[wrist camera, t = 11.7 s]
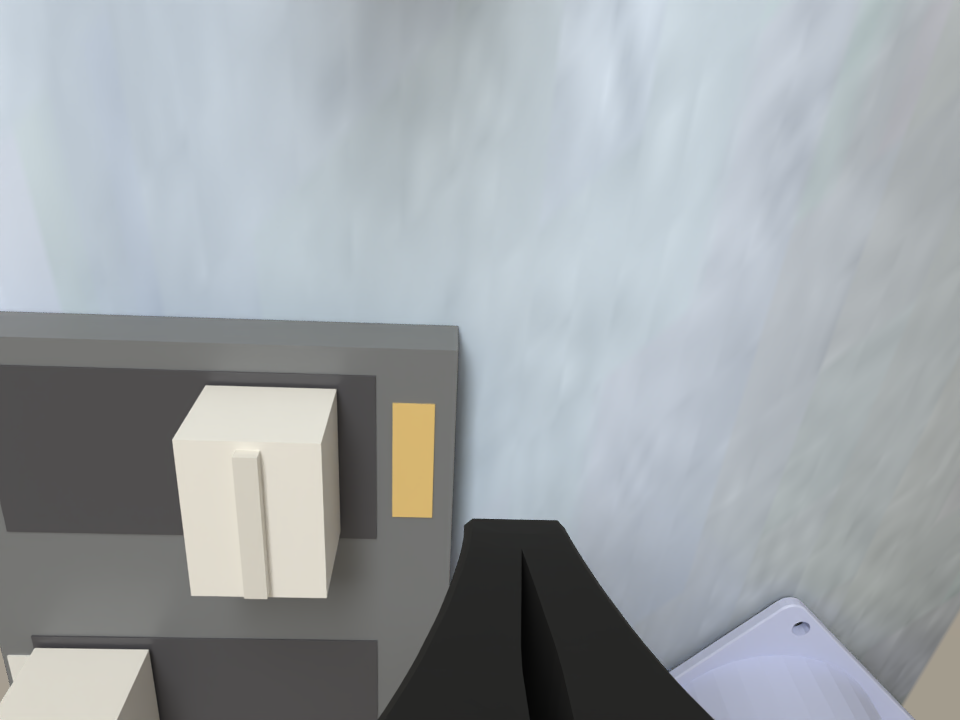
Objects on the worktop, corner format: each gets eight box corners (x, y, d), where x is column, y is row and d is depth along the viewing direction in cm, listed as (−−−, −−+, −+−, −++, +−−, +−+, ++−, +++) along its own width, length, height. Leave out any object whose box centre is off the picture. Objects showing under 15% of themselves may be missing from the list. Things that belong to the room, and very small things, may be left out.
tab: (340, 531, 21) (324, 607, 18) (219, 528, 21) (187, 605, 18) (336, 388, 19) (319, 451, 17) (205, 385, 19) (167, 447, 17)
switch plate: (436, 898, 30) (435, 944, 28) (92, 898, 29) (73, 945, 28) (458, 325, 20) (458, 351, 19) (-42, 309, 20) (-80, 335, 19)
